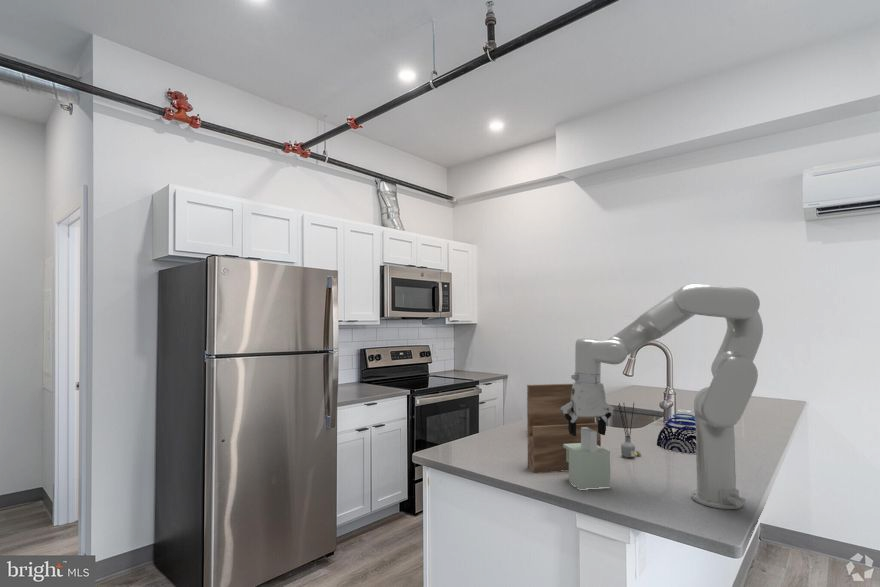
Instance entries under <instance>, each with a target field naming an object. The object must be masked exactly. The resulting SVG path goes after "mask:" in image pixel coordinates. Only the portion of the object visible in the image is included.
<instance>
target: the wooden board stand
mask: <svg viewBox="0 0 880 587" xmlns="http://www.w3.org/2000/svg"><path fill="white" fill-rule="evenodd" d="M526 386H527V387H526V388H527V389H526V390H527V392H526V393H527V394H526V399H527V402H526V405H527V406H526V409H527V412H526V414H527V416H526V417H527V423H526V424H527V429H526V430H527V469H529V470H530V469H531V470H530V471H531V472H533V473H534V474H540V473H539V472H543V473H552V472H551V471H558V472H562V471H561V470H569V462H567V460H566V448H564V447H563V444H573V443H581V427H588V428H590V429H592V430H594V431H596V432H597V445H598V446H600V447H602V444H601V443H602V442H601V441H602V438H601V436H602V434H600V433H598V422H595V417H578V418H577V419H576V420H575V423H576V436H572V435H571V434H570V433H569V430H568V427H569V421H567V419H566V418H565V417H564V416H563V413H562V411H561V407H562V406H564V405H566V404H568V403H569V402H570V399H571V391H572V386H573V383H554V384H553V383H552V384H550V383H549V384H546V383H545V384H526ZM567 412H568V414H569V415H570V414H571V412H570V409H568V410H567Z"/></svg>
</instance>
